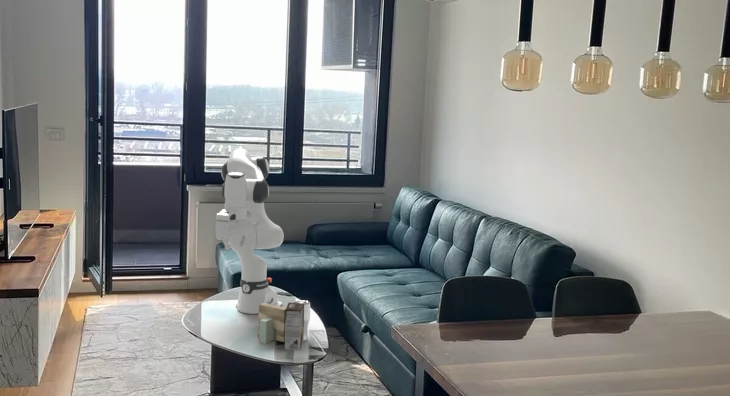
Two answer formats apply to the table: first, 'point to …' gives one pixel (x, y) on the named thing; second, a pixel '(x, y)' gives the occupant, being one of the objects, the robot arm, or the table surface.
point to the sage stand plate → (267, 331)
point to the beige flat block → (274, 319)
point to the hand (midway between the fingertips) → (235, 247)
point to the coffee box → (294, 326)
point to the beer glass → (305, 318)
